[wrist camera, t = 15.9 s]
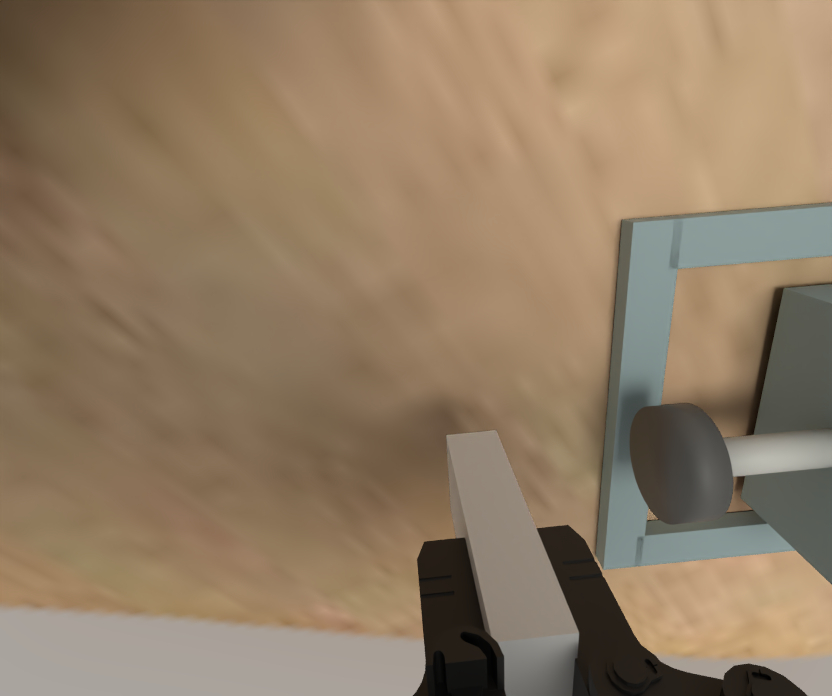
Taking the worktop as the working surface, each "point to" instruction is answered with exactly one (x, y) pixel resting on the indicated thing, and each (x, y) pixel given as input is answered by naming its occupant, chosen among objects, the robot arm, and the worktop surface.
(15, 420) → the worktop surface
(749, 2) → the worktop surface
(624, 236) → the vise
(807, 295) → the jaw
